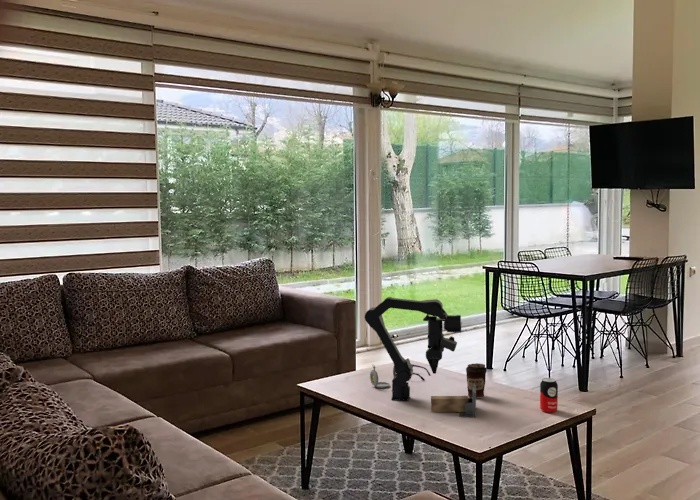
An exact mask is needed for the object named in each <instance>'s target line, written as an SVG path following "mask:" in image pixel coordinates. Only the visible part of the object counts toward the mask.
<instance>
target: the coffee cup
mask: <svg viewBox="0 0 700 500" xmlns="http://www.w3.org/2000/svg"><path fill="white" fill-rule="evenodd" d="M487 370H488V368H487V367H486V364H483V363H477V362H476V363H470V364H467V367H466V368H465V371H466V384H467V396H468V398H472V390H473V383H476V399H481V398H485V394H484V393H485V392H484V391H485V387H486V386H485V385H486V376H487V375H486V374H487Z"/></svg>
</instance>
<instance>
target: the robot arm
mask: <svg viewBox="0 0 700 500" xmlns="http://www.w3.org/2000/svg"><path fill="white" fill-rule="evenodd" d="M389 309H397V310H398V309H399V310H404V311H405V310H406V311H415V312H419V313H422V314H426V316H424V317H423V319H422V321H423V322H427V350H426V351H425V359H426V360H427V363H428V364H429V367H430V369H431V372H432V374H433V375H434V374H435V375H436V373H437V369H438V368H439V367H438V366H439V361H441V360H442V359H443V352H444V351H445V349H446V350H449V351H451V352H455V350H456V348H457V345H458V342H457V341H456V340H455V337H454V336H452V335H451V336H450V337H445V336H444V335H445V334H443V332H444V331H443V329H444V330H445V331H446V333H460V334H461V333H462V316H461V314H456V315H454V314H453V315H452V314H450V315H449V314H448V313H447V311H445V309H444V305H443V303H442V302H441V301H440V300H439V299H435V298H433V299H424V300H415V299H406V298H397V297H391V296H387V297H386V298H384V299H383V301H381V302H380V303H379V304H378V305H377V306H374V307H370V308H369V309H368V310H367V311H365V313H364V321H365V322H366V323H367V324H368V325H369V327H370V328H371V329H372V330H374V332H375V333H376V334H377V336H378V338H379V340H380V341H381V343H382V344H383V347H384V348H385V351H386V352H387V353H388V355H389V358H390V359H391V361H392V363H393V367H395V371H396V374H395V376H394V375H393V378H392V379H391V383H392V384H391V386H392V387H391V390H392V391H391V392H392V394H391V395H392V397H391V400H392V401H405V402H406V401H408V400H409V399H410V397H411V387H410V385H409V383H410V382H409V381H410V380H411V379H412V377H413V375H414V374H413V373H414V369H413V365H414V364H413V365H411V364H412V363H411V361H410V359H409V358H406V359H405V357H403V356H402V354H401V353H400V350H399V348H398V346H397V345H396V343H395V342H394V340H393V338H392V336H391V334H390V333H389V331H388V329H387V328H386V325H385V321H384V318H383V314H384V313H385V312H387V311H388V310H389Z"/></svg>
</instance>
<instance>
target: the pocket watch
mask: <svg viewBox="0 0 700 500" xmlns="http://www.w3.org/2000/svg"><path fill="white" fill-rule="evenodd" d="M372 368H373V369H372V370H370V372H369V379H370V383H371V385H372V386H374V387H375V388H377V389H384V388H385V389H386V388H389V387H390V382H389V383H388V382H385V381H380V382H379V374H378V371H377V370H376V365H374V364H372Z"/></svg>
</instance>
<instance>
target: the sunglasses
mask: <svg viewBox="0 0 700 500" xmlns="http://www.w3.org/2000/svg"><path fill="white" fill-rule="evenodd" d="M411 365H413V367H415V368H421V369H424V370H425V371H426V373H427V374H428V376H430V377H431V376H432V375H431V373H430V372H429V369H428V368H426V367H424V366H423V365H422V366H421V365H418V364H417V365H416V364H412V363H411ZM392 374H393V377H394V376H395V374H396V371H395V367H394V366H393V367H392ZM412 375H416V376H418V377H419V378H420V379H421V380H422V381H426V380H425V378H424V377H423V376H422V375H420V374H419V373H415V372H413V374H412Z"/></svg>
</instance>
